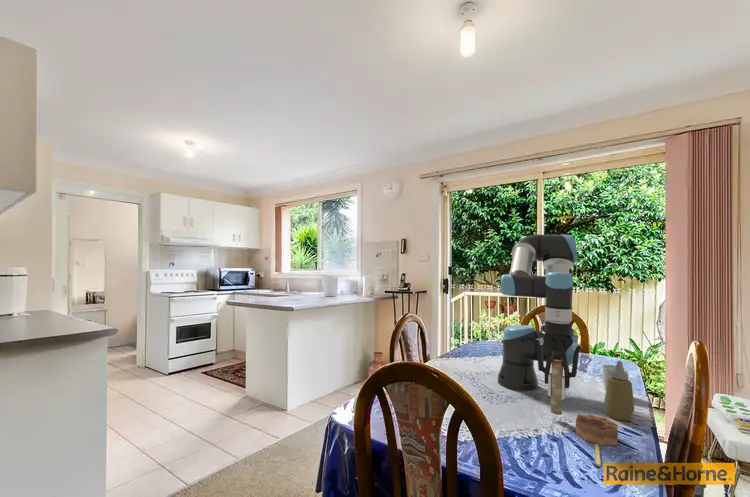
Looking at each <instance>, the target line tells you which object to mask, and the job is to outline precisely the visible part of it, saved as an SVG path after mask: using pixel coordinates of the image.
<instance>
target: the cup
mask: <svg viewBox="0 0 750 497" xmlns="http://www.w3.org/2000/svg"><path fill="white" fill-rule="evenodd" d="M615 368H616V365H614V364H602V365H601V376H602V377H601V378H602V382H603V387H604V391H605V392H606V387H607V379H608V378H609V377H611V371H615ZM623 369H624V372H625V373H627V374H628V369H627V368H625V367H623Z"/></svg>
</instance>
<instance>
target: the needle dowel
mask: <svg viewBox="0 0 750 497" xmlns="http://www.w3.org/2000/svg"><path fill="white" fill-rule="evenodd" d="M550 373H551V396H550V413H551V414H553V415H557V416H558V415H560V416H561V415H562V414H563V399H561V397H562V377H563V375H564V369H563V362H562V361H560V360H552V363H551V369H550Z"/></svg>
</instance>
